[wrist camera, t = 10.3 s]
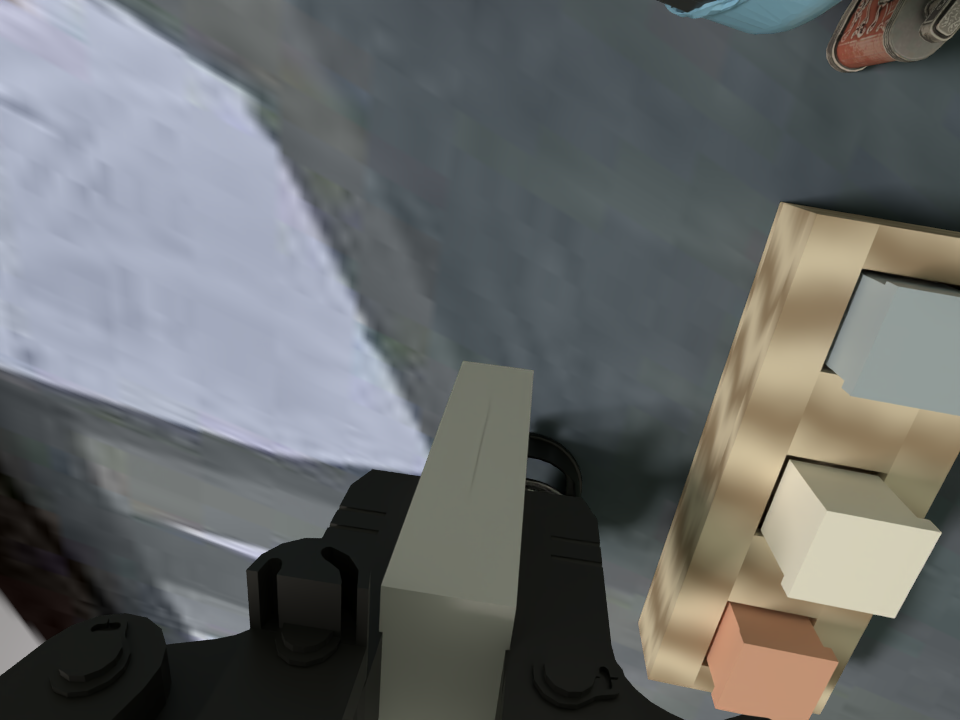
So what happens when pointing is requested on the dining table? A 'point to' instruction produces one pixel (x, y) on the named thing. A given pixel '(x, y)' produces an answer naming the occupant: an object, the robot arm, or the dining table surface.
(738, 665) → the terracotta key
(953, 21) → the lighter
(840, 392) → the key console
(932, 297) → the slate key
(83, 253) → the dining table surface
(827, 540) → the cream key
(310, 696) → the robot arm
